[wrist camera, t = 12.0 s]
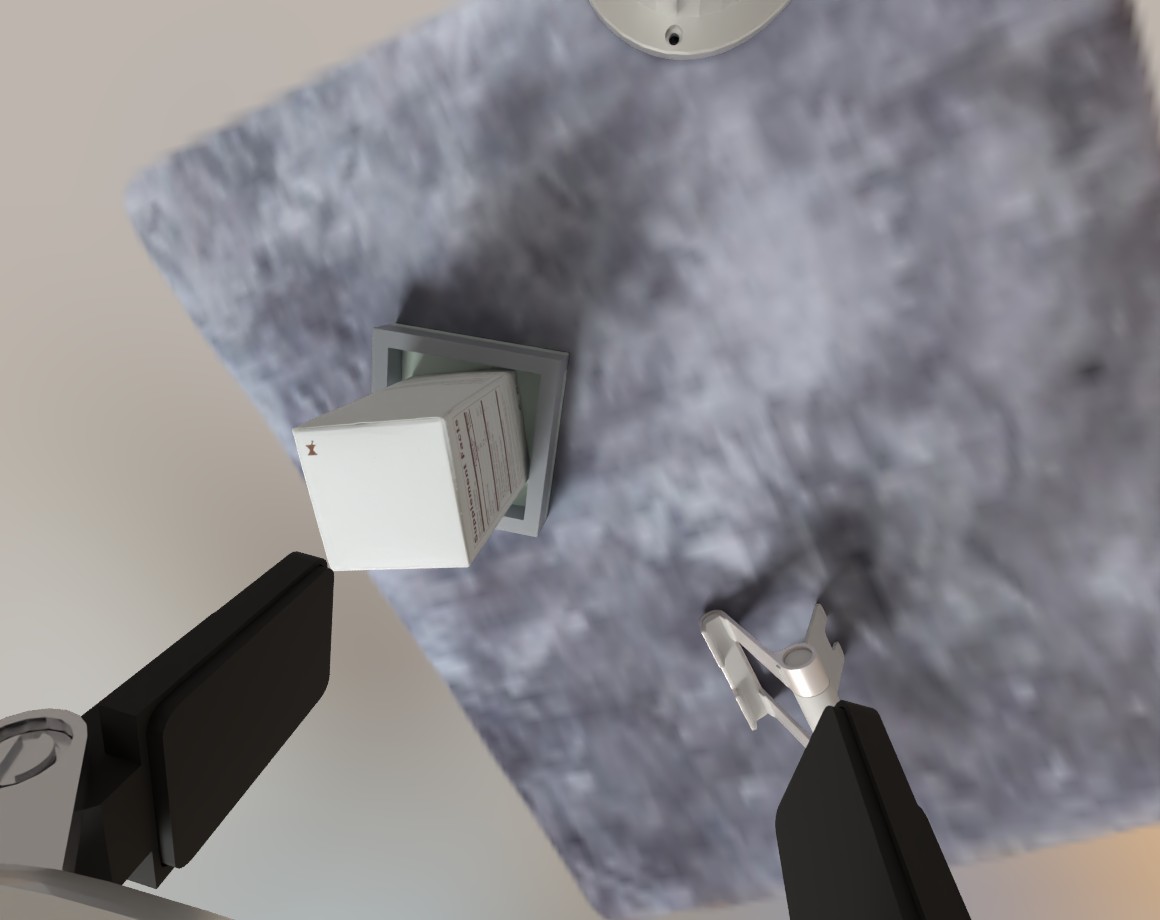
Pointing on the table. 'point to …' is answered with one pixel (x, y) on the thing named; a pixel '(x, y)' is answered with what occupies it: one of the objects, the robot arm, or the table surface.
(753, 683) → the portable electronic device stand
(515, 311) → the table surface
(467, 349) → the tray
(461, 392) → the supplement box
